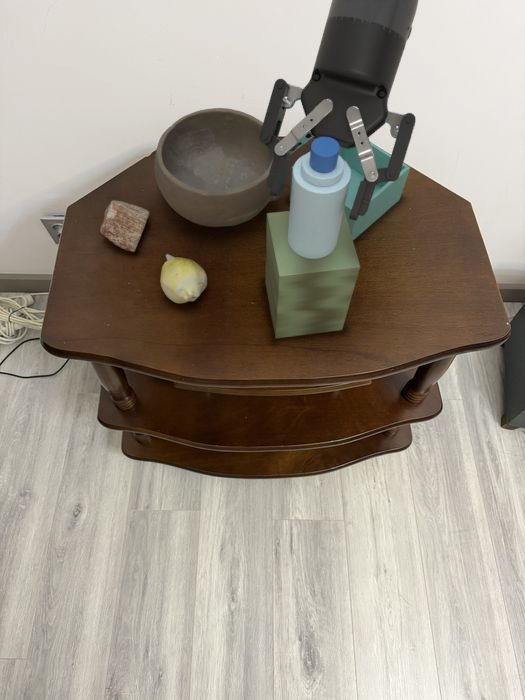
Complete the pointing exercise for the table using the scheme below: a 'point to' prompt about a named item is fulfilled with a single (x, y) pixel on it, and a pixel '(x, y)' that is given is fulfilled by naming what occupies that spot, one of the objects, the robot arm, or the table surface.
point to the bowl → (214, 167)
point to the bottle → (318, 199)
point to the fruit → (182, 279)
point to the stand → (308, 282)
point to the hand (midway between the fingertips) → (313, 207)
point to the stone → (124, 224)
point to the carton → (383, 193)
